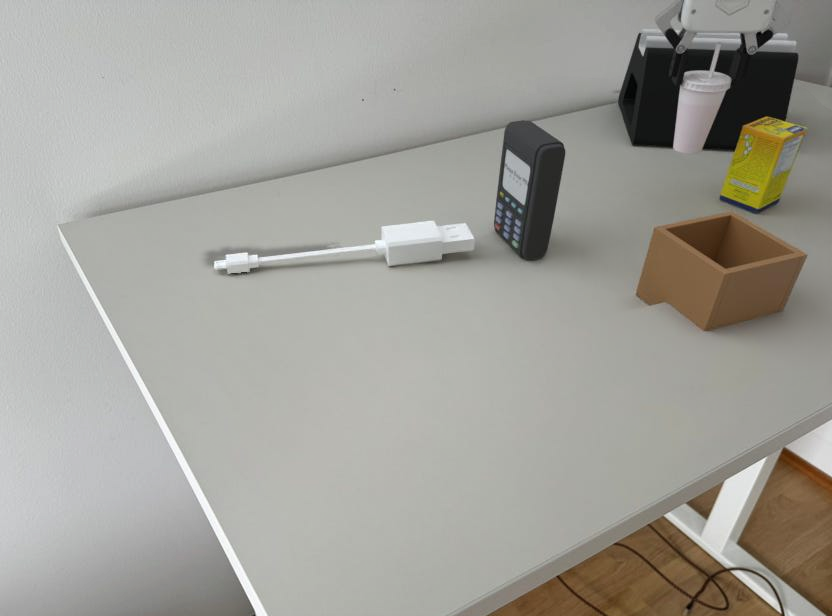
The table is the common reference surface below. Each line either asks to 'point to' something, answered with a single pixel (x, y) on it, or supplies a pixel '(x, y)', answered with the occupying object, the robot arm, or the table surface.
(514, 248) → the card reader
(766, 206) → the supplement box
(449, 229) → the charging cable
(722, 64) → the device stand
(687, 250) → the open box
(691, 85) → the smoothie
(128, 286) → the table surface
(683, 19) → the robot arm
